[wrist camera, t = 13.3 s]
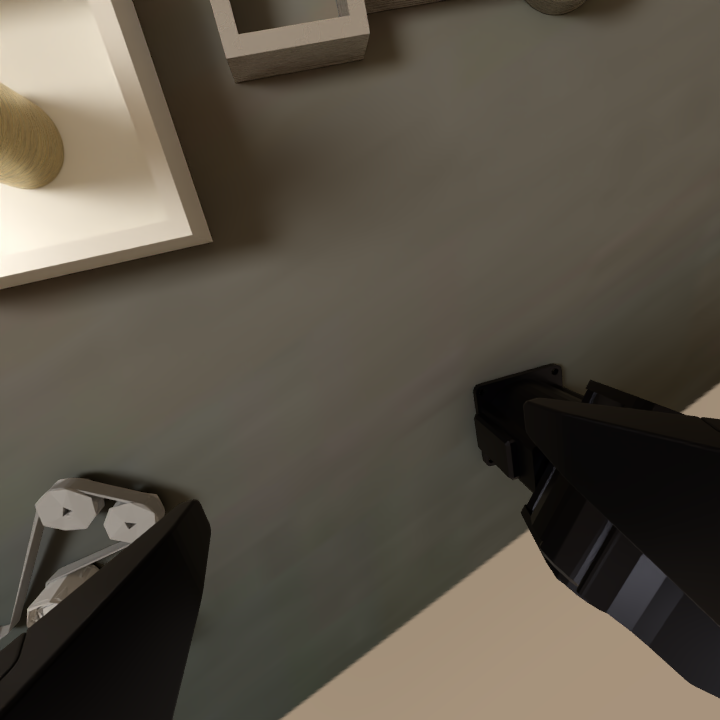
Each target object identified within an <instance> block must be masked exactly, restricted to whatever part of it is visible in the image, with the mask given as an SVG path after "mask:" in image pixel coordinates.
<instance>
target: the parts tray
mask: <svg viewBox="0 0 720 720" xmlns="http://www.w3.org/2000/svg"><path fill="white" fill-rule="evenodd" d="M0 82H1V83H2V84H4V85H6V86H7V87H9V88H10V89H12V90H14V91H15V92H17V93H18V94H20V95H22V96H23V97H25V98H26V99H28V100H30V101H31V102H33V103H34V104H36V105H37V106H39V107H40V108H41V109H42V110H43V111H44V112H45V113H46V114H47V115H48V116H49V117H50V118H51V120H52V121H53V122H54V124H55V125H56V127H57V129H58V131H59V133H60V135H61V138H62V141H63V146H64V162H63V166H62V169H61V171H60V172H59V174H58V175H57V177H56V178H55V179H54V180H53V181H52V182H50V183H49V184H47V185H45V186H43V187H40V188H36V189H20V188H15V187H11V186H8V185H5V184H1V183H0V289H5V288H9V287H14V286H18V285H23V284H27V283H32V282H36V281H41V280H45V279H49V278H54V277H58V276H63V275H67V274H72V273H76V272H81V271H85V270H90V269H94V268H99V267H103V266H107V265H112V264H116V263H121V262H125V261H130V260H134V259H139V258H143V257H148V256H152V255H157V254H161V253H165V252H170V251H174V250H179V249H183V248H188V247H192V246H197V245H201V244H206V243H210V242H213V240H212V237H211V234H210V231H209V228H208V225H207V222H206V219H205V216H204V213H203V210H202V207H201V205H200V202H199V199H198V196H197V193H196V190H195V187H194V184H193V181H192V178H191V175H190V172H189V169H188V166H187V163H186V160H185V157H184V154H183V151H182V148H181V145H180V142H179V139H178V136H177V133H176V130H175V127H174V124H173V121H172V118H171V115H170V112H169V109H168V106H167V103H166V100H165V97H164V94H163V91H162V88H161V85H160V82H159V79H158V76H157V73H156V70H155V67H154V64H153V61H152V58H151V55H150V52H149V49H148V46H147V43H146V40H145V37H144V34H143V31H142V28H141V25H140V22H139V19H138V16H137V13H136V10H135V7H134V4H133V1H132V0H0Z"/></svg>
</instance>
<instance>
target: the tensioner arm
mask: <svg viewBox="0 0 720 720" xmlns="http://www.w3.org/2000/svg"><path fill="white" fill-rule="evenodd" d="M336 1H337V6H338V11H339V16H340V17H337V18H331V19H326V20H320V21H314V22H308V23H302V24H296V25H290V26H284V27H279V28H273V29H267V30H261V31H255V32H249V33H243V34H238V30H237V26H236V22H235V19H234V15H233V11H232V8H231V4H230V0H210V2H211V6H212V9H213V13H214V16H215V20H216V23H217V27H218V30H219V34H220V37H221V41H222V45H223V48H224V52H225V55H226V59H227V61H228V64H229V67H230V69H231V72H232V75H233V78H234V80H235V83H237V82H243V81H248V80H254V79H259V78H265V77H270V76H275V75H281V74H286V73H292V72H297V71H303V70H308V69H314V68H319V67H325V66H330V65H336V64H341V63H346V62H352V61H357V60H363V58H364V54H365V51H366V47H367V43H368V39H369V35H370V30H369V24H368V19H367V14H368V13H374V12H379V11H385V10H391V9H397V8H403V7H409V6H415V5H420V4H426V3H432V2H438V1H444V0H336ZM525 1H526V2H527V3H528V4H529V5H530V6H532V7H533V8H534V9H536V10H538V11H540V12H542V13H546V14H551V15H559V14H565V13H568V12H570V11H573V10H575V9H576V8H578V7H579V6H581V5H582V4H583V3H584V2H585V1H586V0H525Z"/></svg>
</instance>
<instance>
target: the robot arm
mask: <svg viewBox="0 0 720 720" xmlns="http://www.w3.org/2000/svg"><path fill="white" fill-rule="evenodd" d="M553 369H554V372H553V373H552V370H553ZM481 389H483V392H482V393H481V394H479V392H480V390H481ZM586 389H588V390H587V392H586V393H585V395H584V396H582V395H580V394H578V393H576V392H573V391H571V390H569V389H567V388H564V387H562V370H561V367H560V366H558V365H556V364H548V365H545V366H541V367H537V368H534V369H530V370H527V371H523V372H520V373H516V374H513V375H509V376H506V377H502V378H498V379H495V380H491V381H488V382H484V383H481V384H478V385H476V386H475V387H474V390H473V394H474V401H475V408H476V415H475V417H474V421H475V428H476V435H477V442H478V447H479V448H480V449H481V450H482V457H483V461H484V462H485V463H486V464H487V465H488V466H493V465H497V466H498V467H499V468H500V469H501V470H502V471H503V472H504V473H505V474H506V475H507V476H508V477H509V478H511V479H512V480H514V479H517V478H518V479H519V480H520V481H521V482H522V483H523V484H524V485H525V486H526V487H527V488H528V489H529V490H530V491H531V492H533V494H532V496H531V498H530V500H529V502H528V504H527V505H524V507H523V509H522V511H521V514H522V516H523V518H524V520H525V522H526V524H527V526H528V528H529V530H530V532H531V534H532V536H533V537H534V540H535V542H536V543H537V545H538V547H539V549H540V551H541V553H542V555H543V557H544V559H545V560H546V563H547V564H548V566H549V567H550V569H551V570H552V571H553V573H554V575H555V576H556V578H557V579H558V580H559V581H561V582H562V583H564V584H565V585H566V586H567V587H568V588H569V589H571V590H572V591H573V592H574V593H575V594H576V595H578V596H579V597H581V598H582V599H583V600H585V601H586V602H587V603H589V604H591V605H592V606H594V607H596V608H597V609H599V610H601V611H603V612H605V613H608V614H609V615H610V616H612V617H613V618H614V619H615V620H617V621H618V622H619V623H621V624H622V625H623V626H625V627H626V628H628V629H629V630H630V631H632V633H634V634H635V635H636V636H637V637H638V638H639V639H641V640H642V641H643V642H644V643H645V644H646V645H648V646H649V647H650V648H651V649H652V650H653V651H654V652H655V653H656V654H657V655H659V656H660V657H661V658H662V659H663V660H664V661H665V662H666V663H667V664H669V665H670V666H671V667H672V668H673V669H674V670H675V671H676V672H678V674H680V675H681V676H682V677H683V678H684V679H685V680H687V681H688V682H689V683H690V684H692V685H694V686H695V687H698V688H700V689H702V690H704V691H706V692H708V693H710V694H712V695H714V696H716V697H718V698H720V419H714V418H705V417H702V418H699V417H696V416H688V415H684V414H682V413H679V412H676V411H674V410H671V409H668V408H666V407H663V406H660V405H658V404H655V403H652V402H650V401H647V400H644V399H642V398H639V397H636V396H633V395H631V394H628V393H625V392H622V391H620V390H617V389H614V388H612V387H609V386H606V385H603V384H601V383H598V382H595V381H592V380H590V381H589V383H588V385H587V387H586ZM489 458H490V460H489ZM210 537H211V528H210V524H209V522H208V519H207V517H206V515H205V513H204V510H203V508H202V506H201V504H200V502H199V501H198V500H196V499H193V500H190V501H186V502H183V503H180V504H178V505H177V506H176V507H175V508H173V509H172V510H171V511H170V512H169V513H167V514H166V515H165V516H164V517H163V518H161V519H160V520H159V521H158V522H157V523H155V524H154V525H153V526H152V527H150V528H149V529H148V530H147V531H146V532H144V533H143V534H142V535H141V536H140V537H138V538H137V539H136V540H135V541H134V542H132V543H131V544H130V545H129V546H127V547H126V548H125V549H124V550H123V551H121V552H120V553H119V554H118V555H117V556H115V557H114V558H113V559H112V560H111V561H109V562H108V563H107V564H106V565H104V566H103V567H102V568H101V569H100V570H98V571H97V572H96V573H95V574H94V575H92V576H91V577H90V578H89V579H87V580H86V581H85V582H84V583H83V584H81V585H80V586H79V587H78V588H77V589H75V590H74V591H73V592H72V593H71V594H69V595H68V596H67V597H66V598H64V599H63V600H62V601H61V602H60V603H58V604H57V605H56V606H55V607H54V608H52V609H51V610H50V611H49V612H48V613H46V614H45V615H44V616H43V617H41V618H40V619H39V620H38V621H37V622H35V623H34V624H33V625H32V626H31V627H29V628H28V630H27V632H26V633H22V634H21V635H20V636H18V637H17V638H16V639H15V640H14V641H12V642H11V643H10V644H9V645H7V646H6V647H5V648H4V649H3V650H1V651H0V720H172V719H173V715H174V711H175V707H176V703H177V699H178V694H179V690H180V686H181V682H182V678H183V674H184V670H185V666H186V661H187V657H188V653H189V649H190V645H191V641H192V637H193V633H194V628H195V624H196V620H197V616H198V612H199V608H200V603H201V599H202V594H203V588H204V581H205V574H206V566H207V559H208V552H209V544H210Z"/></svg>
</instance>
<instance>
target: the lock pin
mask: <svg viewBox="0 0 720 720" xmlns="http://www.w3.org/2000/svg"><path fill="white" fill-rule="evenodd" d="M63 162H64V146H63V141H62V138H61V135H60V133H59V131H58V129H57V127H56V125H55V124H54V122H53V121H52V120H51V118H50V117H49V116H48V115H47V114H46V113H45V112H44V111H43V110H42V109H41V108H40V107H39V106H37V105H36V104H34V103H33V102H31V101H30V100H28V99H26V98H25V97H23V96H22V95H20V94H18V93H17V92H15V91H14V90H12V89H10V88H9V87H7V86H6V85H4V84H2V83H1V82H0V183H1V184H5V185H8V186H11V187H15V188H20V189H36V188H40V187H43V186H45V185H47V184H49V183H50V182H52V181H53V180H54V179H55V178H56V177H57V175H58V174H59V172H60V171H61V169H62V166H63Z"/></svg>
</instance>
